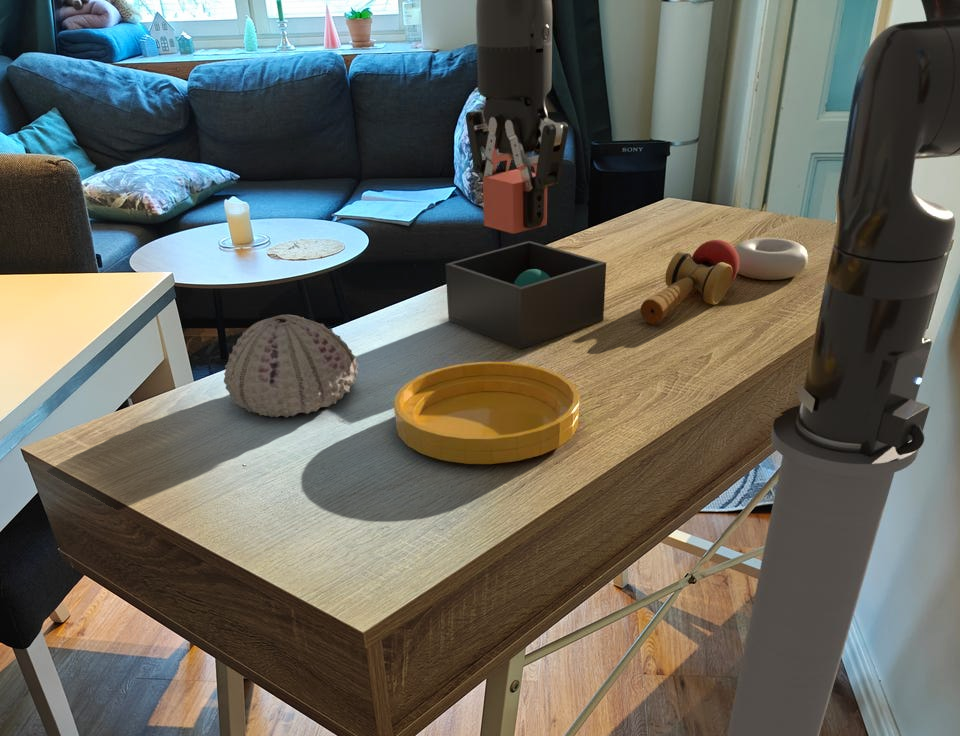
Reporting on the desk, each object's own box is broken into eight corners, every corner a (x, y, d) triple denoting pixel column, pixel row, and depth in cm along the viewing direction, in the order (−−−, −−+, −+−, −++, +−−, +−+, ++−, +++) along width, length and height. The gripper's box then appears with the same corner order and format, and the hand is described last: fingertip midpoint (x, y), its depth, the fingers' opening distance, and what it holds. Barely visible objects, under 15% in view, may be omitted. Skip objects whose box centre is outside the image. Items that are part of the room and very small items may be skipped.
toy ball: (563, 311, 107) (562, 269, 104) (532, 325, 105) (531, 282, 101) (535, 300, 110) (533, 259, 107) (505, 313, 108) (502, 272, 104)
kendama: (686, 342, 103) (756, 279, 112) (679, 288, 99) (753, 227, 108) (629, 340, 108) (701, 280, 117) (620, 289, 104) (695, 230, 113)
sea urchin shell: (386, 394, 91) (377, 316, 86) (276, 439, 84) (260, 356, 79) (309, 362, 99) (298, 288, 94) (202, 400, 92) (183, 322, 87)
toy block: (546, 225, 99) (547, 175, 96) (513, 234, 97) (512, 183, 94) (517, 217, 102) (516, 168, 99) (483, 225, 100) (482, 176, 97)
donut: (731, 259, 123) (723, 280, 116) (735, 233, 121) (727, 252, 114) (807, 264, 121) (803, 285, 113) (812, 237, 119) (809, 257, 111)
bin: (603, 320, 106) (606, 262, 102) (521, 349, 100) (520, 289, 96) (529, 295, 114) (529, 240, 110) (448, 320, 108) (445, 263, 104)
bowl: (616, 428, 84) (618, 397, 82) (475, 490, 75) (473, 458, 74) (497, 376, 94) (496, 348, 92) (361, 425, 86) (358, 396, 84)
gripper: (440, 39, 91) (449, 217, 102) (535, 47, 82) (534, 241, 93) (496, 32, 95) (499, 205, 106) (592, 39, 86) (585, 227, 97)
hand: (515, 221), depth 99 cm, fingers closed on toy block, 5 cm apart
